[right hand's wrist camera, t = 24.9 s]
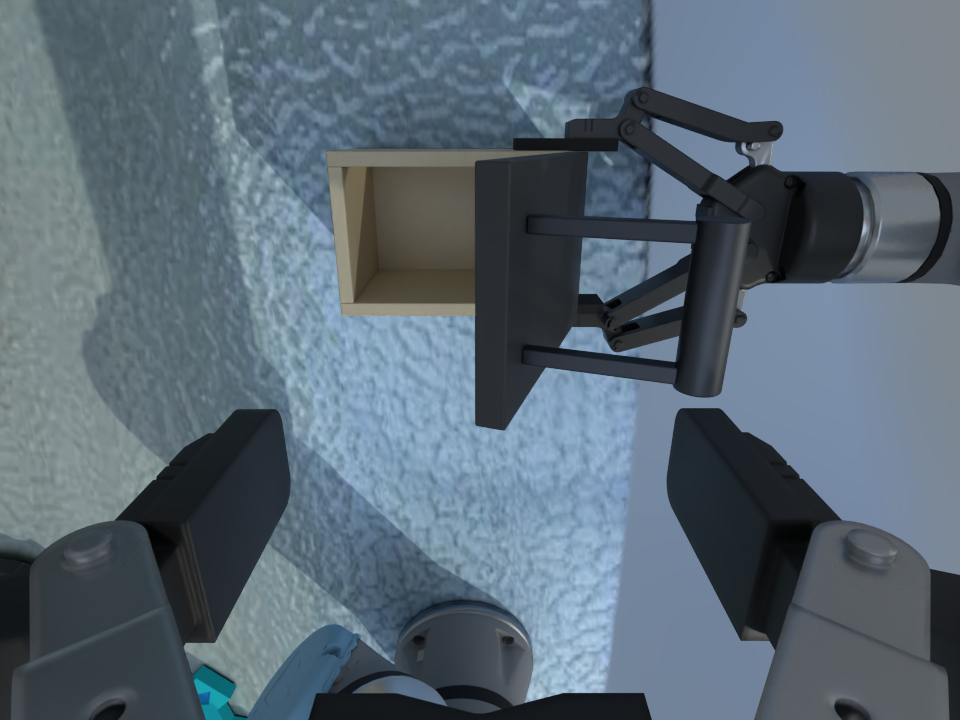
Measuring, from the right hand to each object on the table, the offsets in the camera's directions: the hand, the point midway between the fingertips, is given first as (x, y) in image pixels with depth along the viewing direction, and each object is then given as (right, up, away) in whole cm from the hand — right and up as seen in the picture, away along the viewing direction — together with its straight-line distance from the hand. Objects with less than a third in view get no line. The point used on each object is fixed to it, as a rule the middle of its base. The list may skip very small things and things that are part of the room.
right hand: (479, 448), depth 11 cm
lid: (+2, +7, +16) cm, 17 cm away
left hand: (+2, +11, +27) cm, 29 cm away
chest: (-2, +13, +33) cm, 36 cm away
